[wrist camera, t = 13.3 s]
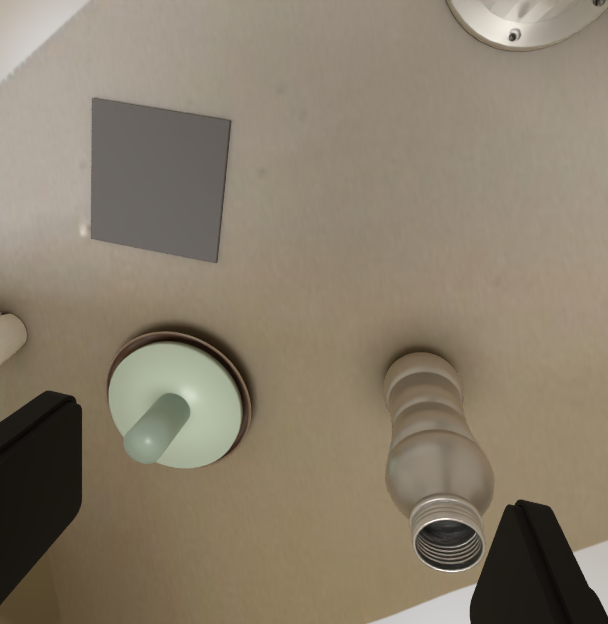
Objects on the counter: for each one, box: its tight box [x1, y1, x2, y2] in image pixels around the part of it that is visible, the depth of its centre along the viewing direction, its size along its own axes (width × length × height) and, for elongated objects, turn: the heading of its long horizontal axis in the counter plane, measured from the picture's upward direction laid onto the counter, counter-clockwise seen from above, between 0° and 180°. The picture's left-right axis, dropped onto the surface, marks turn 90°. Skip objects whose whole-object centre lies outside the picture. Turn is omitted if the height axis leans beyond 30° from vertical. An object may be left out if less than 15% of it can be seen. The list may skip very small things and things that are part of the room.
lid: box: [109, 341, 243, 468], centre depth 43 cm, size 13×13×7 cm
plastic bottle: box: [383, 352, 495, 573], centre depth 34 cm, size 6×7×20 cm
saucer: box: [105, 331, 251, 468], centre depth 47 cm, size 15×15×3 cm
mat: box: [91, 98, 231, 263], centre depth 42 cm, size 12×12×1 cm
